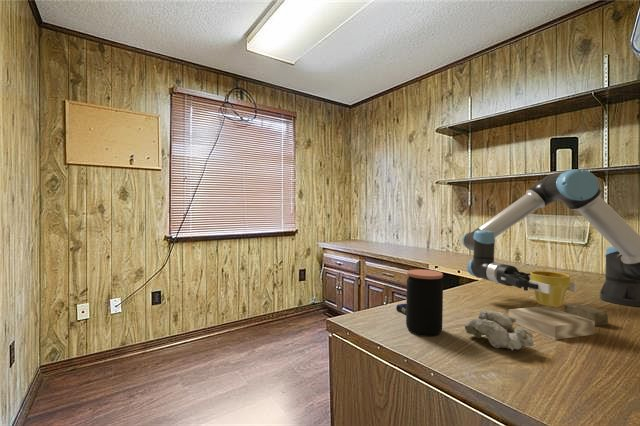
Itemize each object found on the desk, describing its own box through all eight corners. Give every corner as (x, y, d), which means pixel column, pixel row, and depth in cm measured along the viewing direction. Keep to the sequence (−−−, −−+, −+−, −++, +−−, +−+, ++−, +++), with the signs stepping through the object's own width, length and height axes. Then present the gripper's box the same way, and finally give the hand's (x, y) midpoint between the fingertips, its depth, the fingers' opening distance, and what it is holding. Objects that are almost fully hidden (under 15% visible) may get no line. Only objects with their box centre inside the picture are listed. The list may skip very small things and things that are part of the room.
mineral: (519, 355, 78) (530, 316, 80) (453, 329, 92) (465, 296, 94) (535, 366, 84) (546, 330, 87) (472, 340, 98) (482, 310, 101)
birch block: (544, 317, 113) (544, 305, 113) (594, 334, 98) (594, 321, 98) (508, 321, 109) (508, 309, 109) (554, 339, 93) (555, 326, 93)
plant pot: (533, 306, 100) (534, 275, 100) (526, 297, 110) (527, 269, 110) (574, 310, 96) (575, 278, 96) (563, 301, 106) (563, 272, 106)
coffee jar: (441, 326, 103) (442, 270, 102) (442, 339, 93) (443, 277, 92) (407, 322, 106) (408, 268, 106) (404, 334, 96) (405, 274, 96)
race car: (388, 310, 120) (389, 298, 120) (402, 308, 124) (402, 296, 124) (419, 322, 107) (419, 309, 107) (433, 320, 110) (433, 307, 110)
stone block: (596, 327, 104) (596, 312, 104) (561, 316, 115) (561, 302, 115) (609, 326, 105) (609, 311, 105) (573, 315, 116) (573, 301, 116)
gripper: (526, 282, 123) (589, 298, 102) (478, 285, 117) (533, 303, 96) (527, 263, 123) (589, 274, 102) (478, 265, 117) (534, 278, 96)
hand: (562, 288), depth 99 cm, fingers closed on plant pot, 10 cm apart
